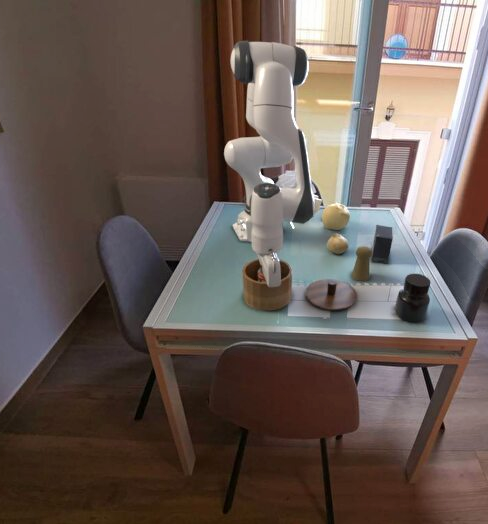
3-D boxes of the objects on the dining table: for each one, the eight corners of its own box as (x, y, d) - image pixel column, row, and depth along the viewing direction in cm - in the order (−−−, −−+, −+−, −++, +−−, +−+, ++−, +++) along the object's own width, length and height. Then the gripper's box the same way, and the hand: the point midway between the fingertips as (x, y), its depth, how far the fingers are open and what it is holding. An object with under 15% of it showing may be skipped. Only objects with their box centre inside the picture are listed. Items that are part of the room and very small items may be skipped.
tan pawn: (358, 282, 119) (362, 254, 114) (348, 273, 124) (351, 245, 118) (372, 278, 122) (377, 250, 116) (362, 270, 126) (366, 242, 121)
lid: (296, 290, 114) (296, 277, 111) (335, 277, 121) (336, 264, 119) (326, 318, 102) (327, 303, 100) (366, 301, 110) (369, 287, 108)
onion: (347, 247, 140) (349, 231, 137) (347, 257, 133) (349, 240, 130) (327, 245, 141) (329, 229, 138) (325, 255, 134) (327, 238, 131)
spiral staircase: (293, 231, 160) (281, 208, 180) (328, 213, 160) (313, 192, 180) (276, 198, 149) (266, 177, 169) (314, 179, 149) (299, 160, 169)
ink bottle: (418, 303, 110) (427, 270, 104) (431, 322, 103) (441, 287, 97) (388, 305, 109) (395, 272, 103) (399, 324, 101) (407, 289, 95)
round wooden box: (236, 291, 112) (234, 265, 107) (276, 278, 119) (276, 253, 115) (257, 316, 102) (256, 289, 97) (300, 301, 109) (301, 274, 104)
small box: (388, 264, 130) (393, 238, 125) (370, 261, 131) (374, 236, 126) (388, 250, 139) (393, 226, 134) (371, 248, 140) (375, 224, 135)
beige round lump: (351, 232, 152) (354, 208, 147) (324, 233, 151) (326, 209, 145) (344, 221, 162) (347, 198, 157) (318, 222, 160) (320, 199, 155)
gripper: (286, 258, 93) (286, 301, 100) (271, 226, 110) (271, 264, 117) (263, 261, 92) (263, 304, 99) (251, 228, 109) (252, 266, 116)
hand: (267, 282), depth 108 cm, fingers closed on supplement bottle, 6 cm apart
